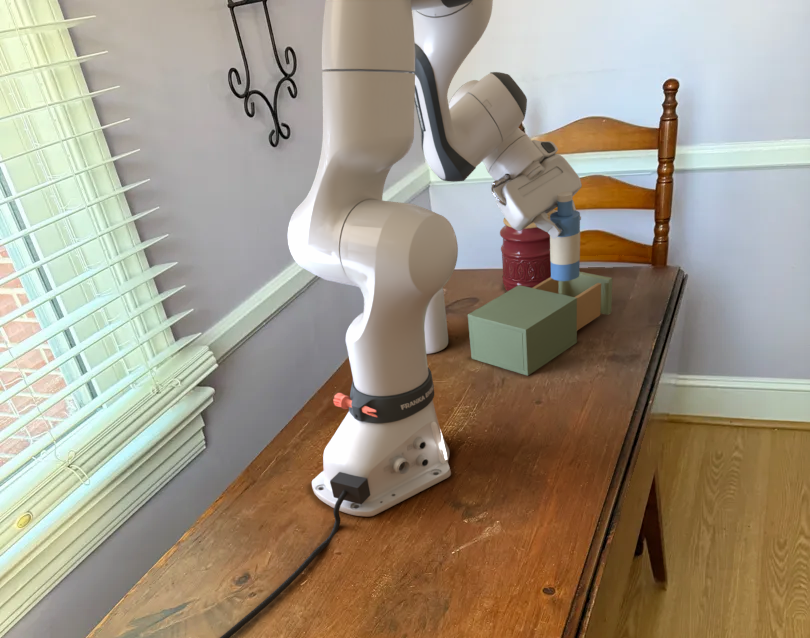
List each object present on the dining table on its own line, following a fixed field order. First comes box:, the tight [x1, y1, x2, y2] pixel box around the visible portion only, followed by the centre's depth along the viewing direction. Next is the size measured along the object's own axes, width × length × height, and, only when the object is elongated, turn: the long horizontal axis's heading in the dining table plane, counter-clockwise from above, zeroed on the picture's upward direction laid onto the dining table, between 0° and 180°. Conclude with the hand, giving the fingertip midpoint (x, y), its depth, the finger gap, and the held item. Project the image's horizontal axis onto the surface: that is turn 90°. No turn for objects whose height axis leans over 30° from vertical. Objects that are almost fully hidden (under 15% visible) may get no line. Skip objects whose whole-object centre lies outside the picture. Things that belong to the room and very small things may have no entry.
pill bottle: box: [424, 287, 449, 355], centre depth 148 cm, size 8×8×15 cm
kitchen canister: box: [499, 209, 557, 292], centre depth 164 cm, size 13×13×18 cm
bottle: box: [550, 192, 581, 281], centre depth 141 cm, size 5×5×14 cm
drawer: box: [533, 271, 613, 331], centre depth 151 cm, size 18×12×7 cm
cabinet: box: [467, 285, 578, 377], centre depth 143 cm, size 15×13×9 cm
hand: (568, 228), depth 140 cm, fingers closed on bottle, 5 cm apart
